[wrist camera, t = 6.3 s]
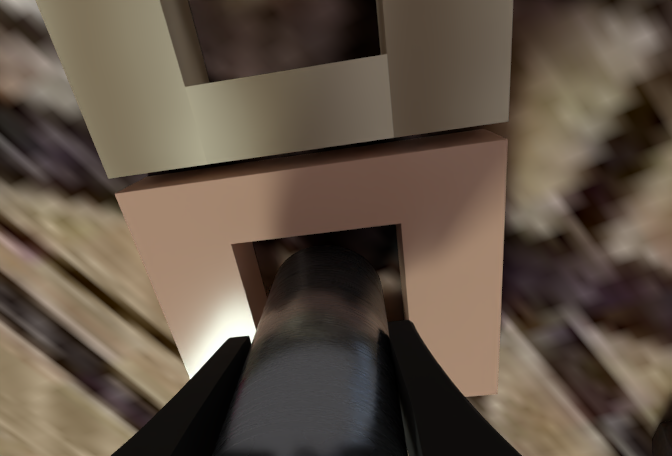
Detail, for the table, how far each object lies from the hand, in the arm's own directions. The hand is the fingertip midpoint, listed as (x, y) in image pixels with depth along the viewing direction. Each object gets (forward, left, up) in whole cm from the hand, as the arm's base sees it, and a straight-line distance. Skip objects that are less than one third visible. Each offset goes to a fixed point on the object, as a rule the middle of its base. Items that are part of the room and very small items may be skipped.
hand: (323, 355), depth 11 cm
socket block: (0, 0, -4) cm, 4 cm away
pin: (0, 0, -3) cm, 3 cm away
